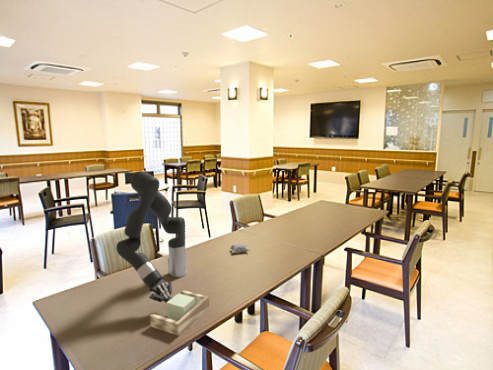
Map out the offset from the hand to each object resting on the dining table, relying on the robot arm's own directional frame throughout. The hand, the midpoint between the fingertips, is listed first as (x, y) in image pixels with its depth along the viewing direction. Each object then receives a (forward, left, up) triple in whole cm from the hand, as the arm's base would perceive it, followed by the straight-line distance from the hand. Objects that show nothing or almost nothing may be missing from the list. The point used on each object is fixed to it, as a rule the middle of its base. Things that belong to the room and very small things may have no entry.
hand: (172, 305), depth 129 cm
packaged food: (-4, +75, -4) cm, 75 cm away
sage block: (+5, 0, -4) cm, 6 cm away
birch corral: (+5, 0, -4) cm, 6 cm away
